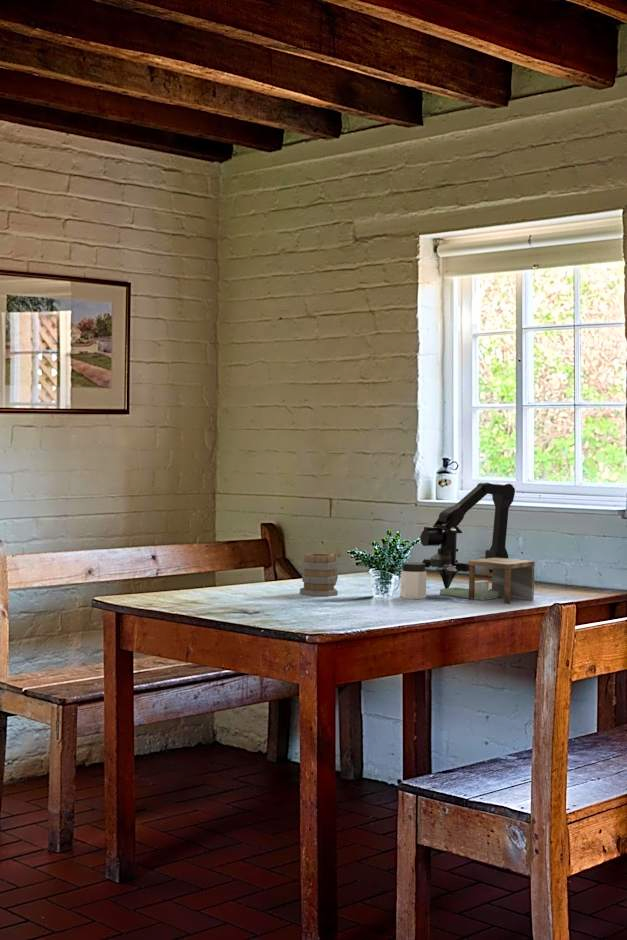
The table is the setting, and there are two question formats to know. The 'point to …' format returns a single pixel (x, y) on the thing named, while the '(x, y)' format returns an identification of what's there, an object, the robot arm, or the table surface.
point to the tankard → (320, 574)
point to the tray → (480, 591)
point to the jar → (413, 580)
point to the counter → (506, 577)
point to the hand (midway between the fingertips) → (446, 589)
